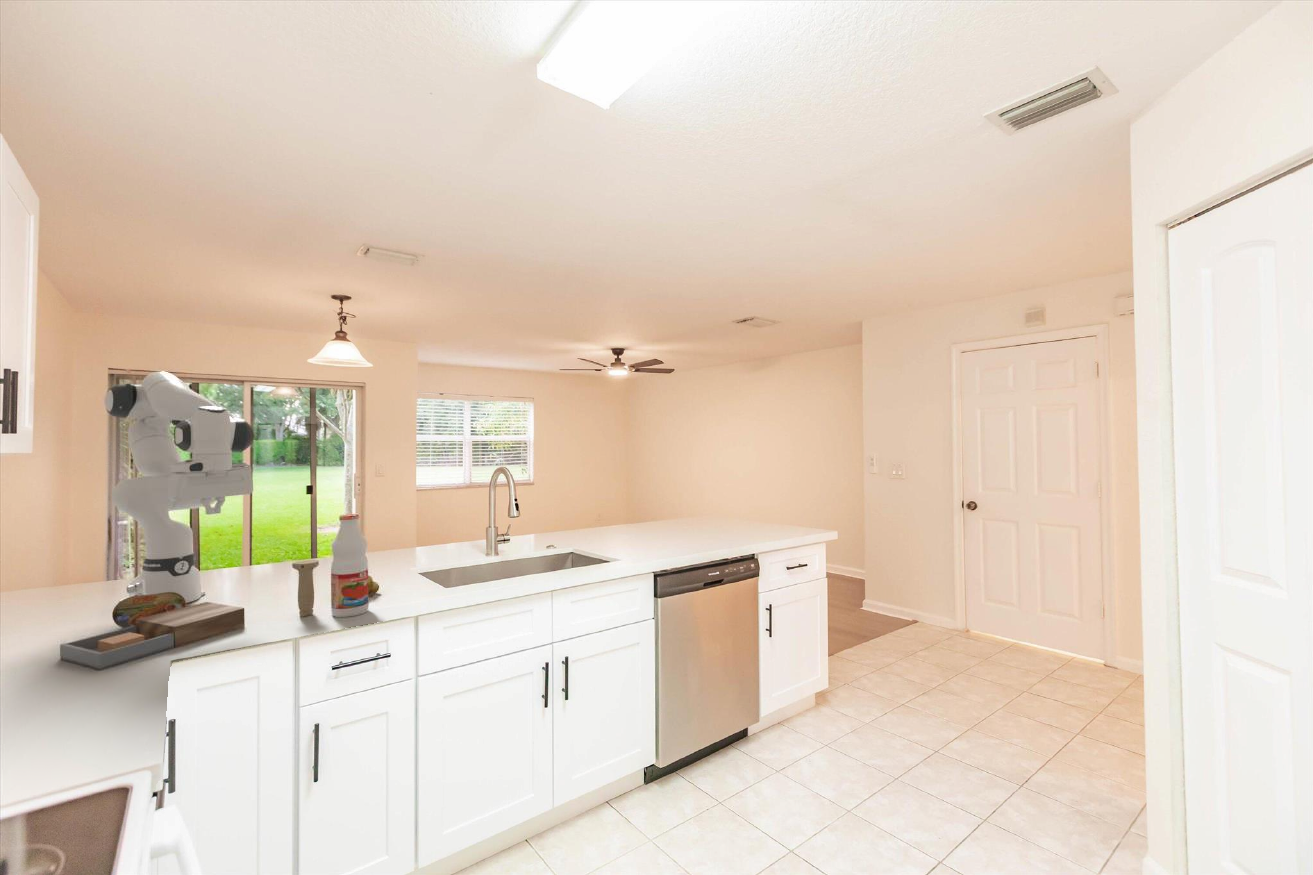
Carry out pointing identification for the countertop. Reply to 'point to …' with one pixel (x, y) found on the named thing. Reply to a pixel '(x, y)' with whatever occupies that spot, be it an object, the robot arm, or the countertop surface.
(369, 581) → the bread roll
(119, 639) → the terracotta block
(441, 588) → the countertop surface
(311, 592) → the handle
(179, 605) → the tin
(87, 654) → the box
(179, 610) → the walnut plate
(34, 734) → the countertop surface
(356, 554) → the fruit juice
